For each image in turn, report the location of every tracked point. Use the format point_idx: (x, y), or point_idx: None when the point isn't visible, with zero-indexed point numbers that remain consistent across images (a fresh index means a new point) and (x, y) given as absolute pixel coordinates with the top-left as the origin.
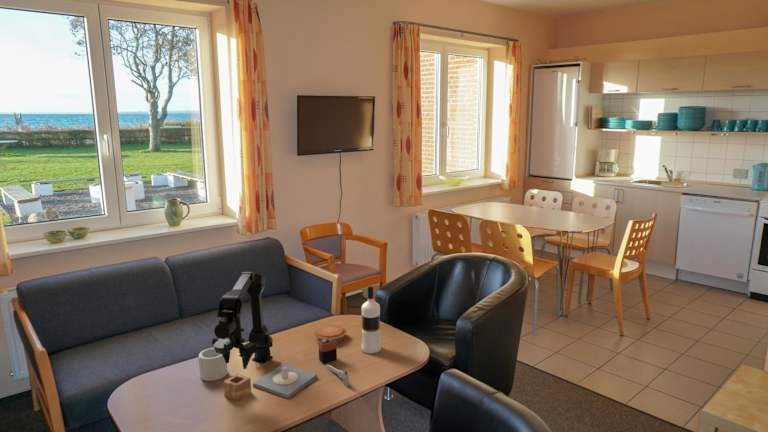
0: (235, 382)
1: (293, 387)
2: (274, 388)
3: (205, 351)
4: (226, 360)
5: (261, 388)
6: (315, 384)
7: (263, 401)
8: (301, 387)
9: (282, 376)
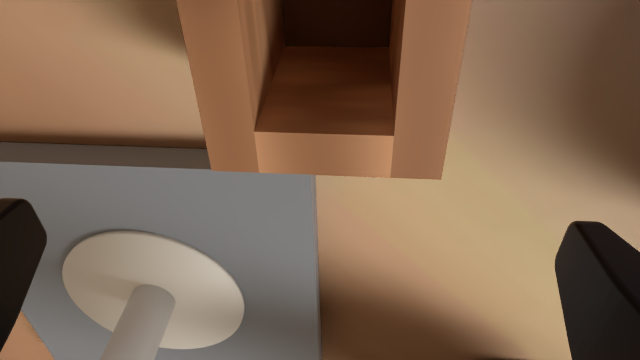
0: (394, 67)
1: None
2: (84, 183)
3: None
4: (606, 284)
5: None
6: None
7: (23, 17)
8: None
9: (152, 301)
